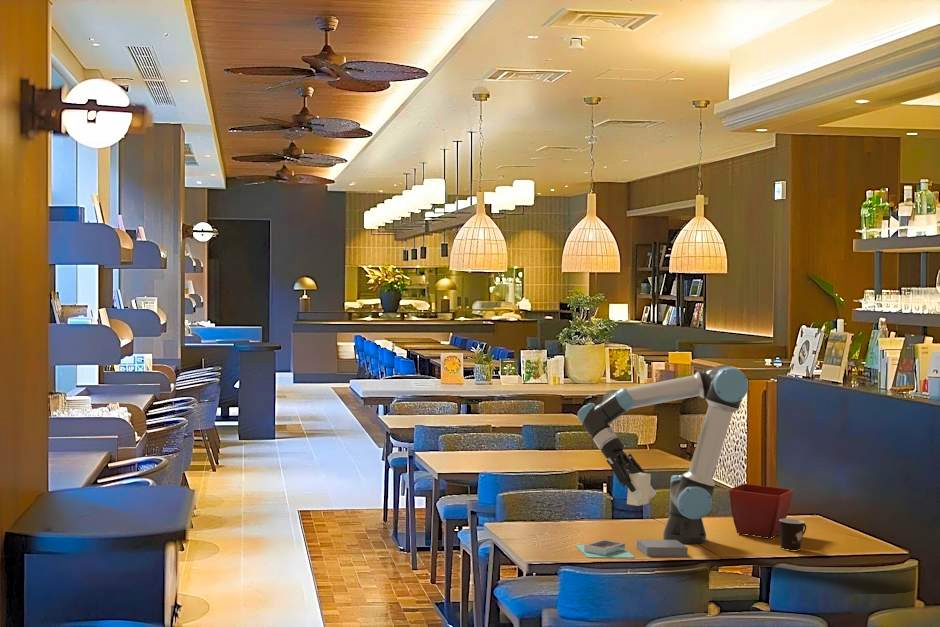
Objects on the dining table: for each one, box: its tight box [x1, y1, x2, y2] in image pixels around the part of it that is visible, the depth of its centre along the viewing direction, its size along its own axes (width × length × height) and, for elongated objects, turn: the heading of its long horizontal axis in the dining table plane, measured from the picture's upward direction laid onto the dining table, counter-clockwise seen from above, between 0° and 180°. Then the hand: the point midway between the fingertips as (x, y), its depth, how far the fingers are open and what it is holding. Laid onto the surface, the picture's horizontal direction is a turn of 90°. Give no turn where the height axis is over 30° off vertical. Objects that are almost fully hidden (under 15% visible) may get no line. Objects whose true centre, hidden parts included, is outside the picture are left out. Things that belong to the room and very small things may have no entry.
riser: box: [636, 539, 689, 557], centre depth 406 cm, size 12×14×3 cm
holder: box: [583, 539, 626, 556], centre depth 403 cm, size 8×12×2 cm
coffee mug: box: [779, 518, 807, 550], centre depth 419 cm, size 12×9×10 cm
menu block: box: [626, 472, 652, 507], centre depth 405 cm, size 4×8×10 cm, turn 143°
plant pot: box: [728, 483, 794, 538], centre depth 443 cm, size 19×19×17 cm
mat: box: [574, 544, 636, 559], centre depth 403 cm, size 18×16×1 cm
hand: (647, 497), depth 403 cm, fingers closed on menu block, 8 cm apart
